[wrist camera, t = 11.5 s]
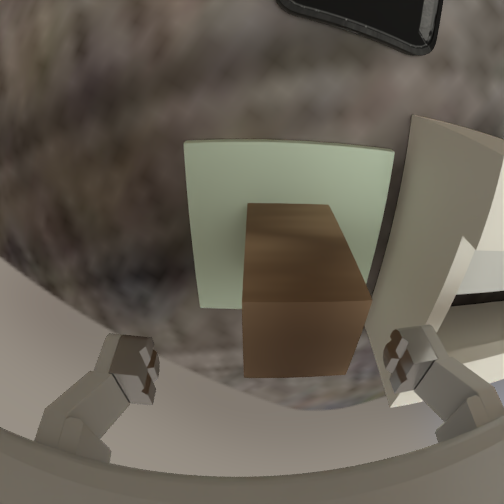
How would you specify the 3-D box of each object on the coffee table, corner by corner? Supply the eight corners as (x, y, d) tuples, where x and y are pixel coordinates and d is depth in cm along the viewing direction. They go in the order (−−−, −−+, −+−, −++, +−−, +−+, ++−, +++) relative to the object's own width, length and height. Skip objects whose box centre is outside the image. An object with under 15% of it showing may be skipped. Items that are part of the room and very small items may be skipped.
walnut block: (247, 270, 17) (244, 377, 11) (247, 203, 15) (241, 301, 9) (319, 270, 17) (345, 374, 11) (328, 204, 15) (372, 300, 9)
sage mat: (201, 301, 19) (200, 307, 19) (186, 140, 14) (183, 143, 13) (356, 301, 19) (358, 307, 19) (390, 148, 14) (394, 152, 13)
